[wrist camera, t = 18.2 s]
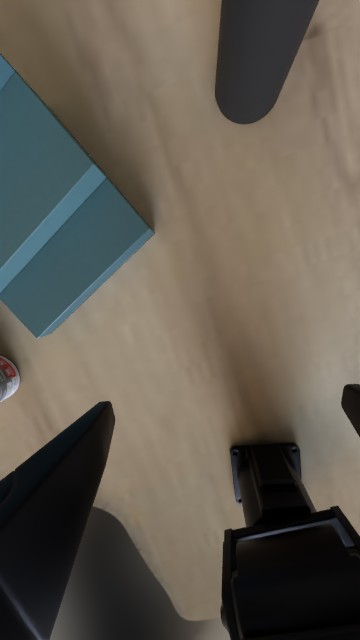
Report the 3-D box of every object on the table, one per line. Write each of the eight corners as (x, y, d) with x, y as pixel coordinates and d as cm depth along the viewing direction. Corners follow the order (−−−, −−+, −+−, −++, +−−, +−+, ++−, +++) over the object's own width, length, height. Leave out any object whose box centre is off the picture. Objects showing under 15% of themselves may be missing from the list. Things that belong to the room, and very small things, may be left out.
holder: (259, 137, 18) (318, -3, 9) (202, 107, 18) (203, -64, 9) (295, 66, 16) (402, -174, 8) (234, 35, 16) (272, -243, 8)
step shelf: (155, 233, 20) (109, 189, 10) (51, 333, 22) (-67, 377, 12) (47, 105, 18) (-125, -87, 9) (-49, 227, 21) (-263, 184, 11)
